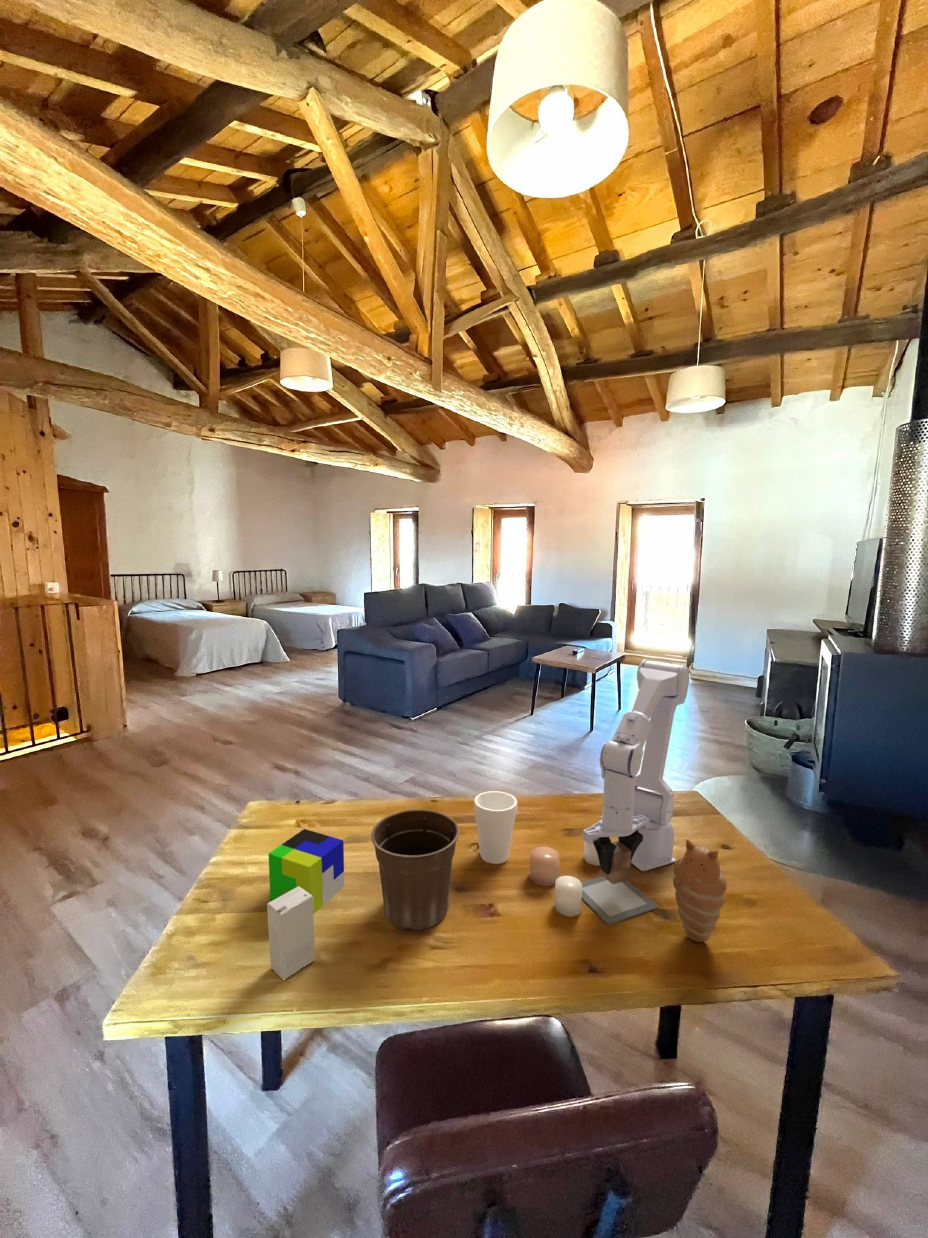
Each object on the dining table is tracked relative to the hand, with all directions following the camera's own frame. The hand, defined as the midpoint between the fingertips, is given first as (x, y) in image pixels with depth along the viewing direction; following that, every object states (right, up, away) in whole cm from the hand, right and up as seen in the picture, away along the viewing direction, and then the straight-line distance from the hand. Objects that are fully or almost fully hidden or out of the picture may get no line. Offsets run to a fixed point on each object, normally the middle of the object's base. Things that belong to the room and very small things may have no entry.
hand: (614, 868), depth 106 cm
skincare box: (-58, -8, -17) cm, 61 cm away
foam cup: (-23, -4, +15) cm, 27 cm away
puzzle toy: (-60, -6, +1) cm, 61 cm away
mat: (0, -6, +1) cm, 6 cm away
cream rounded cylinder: (0, -4, +14) cm, 14 cm away
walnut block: (0, -2, 0) cm, 2 cm away
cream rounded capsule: (-10, -7, -2) cm, 12 cm away
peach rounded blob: (-13, -5, +7) cm, 15 cm away
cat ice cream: (+12, -8, -10) cm, 17 cm away
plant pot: (-39, -7, -3) cm, 39 cm away
